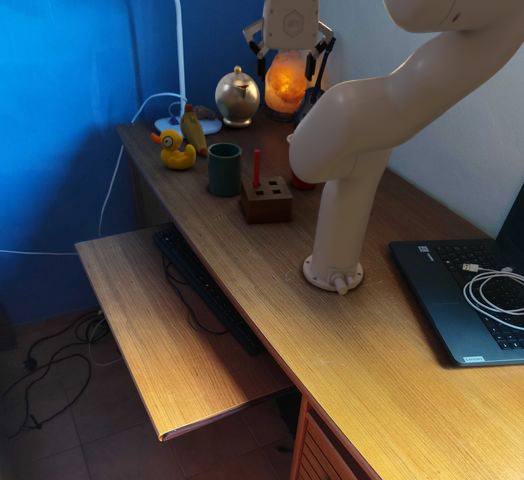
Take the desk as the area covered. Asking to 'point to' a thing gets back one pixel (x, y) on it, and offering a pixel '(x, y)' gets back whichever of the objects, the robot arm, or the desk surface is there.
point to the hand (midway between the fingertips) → (284, 79)
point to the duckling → (174, 150)
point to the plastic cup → (295, 179)
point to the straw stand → (266, 200)
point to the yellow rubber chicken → (193, 130)
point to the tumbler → (224, 169)
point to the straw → (256, 167)
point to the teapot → (237, 98)
